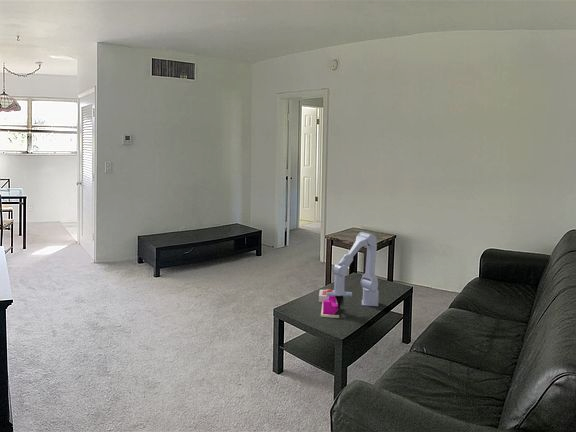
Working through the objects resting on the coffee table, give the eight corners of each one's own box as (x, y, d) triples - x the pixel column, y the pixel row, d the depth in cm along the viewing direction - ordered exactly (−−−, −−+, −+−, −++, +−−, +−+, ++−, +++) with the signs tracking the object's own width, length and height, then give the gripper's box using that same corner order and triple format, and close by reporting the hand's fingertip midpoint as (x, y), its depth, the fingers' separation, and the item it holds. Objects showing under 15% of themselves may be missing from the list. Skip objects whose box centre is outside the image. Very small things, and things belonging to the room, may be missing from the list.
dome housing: (338, 296, 293) (338, 290, 293) (338, 303, 282) (338, 296, 281) (319, 295, 295) (319, 289, 294) (318, 302, 283) (318, 295, 283)
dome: (334, 296, 291) (334, 287, 290) (334, 300, 284) (334, 291, 283) (323, 295, 292) (323, 287, 291) (322, 299, 285) (323, 290, 284)
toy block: (333, 315, 263) (334, 302, 261) (322, 314, 265) (323, 301, 263) (340, 306, 276) (340, 294, 275) (329, 305, 279) (330, 293, 277)
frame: (339, 305, 279) (339, 303, 279) (338, 317, 259) (339, 315, 259) (322, 304, 280) (322, 302, 280) (320, 316, 260) (320, 314, 260)
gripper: (350, 283, 271) (349, 305, 273) (325, 283, 270) (325, 305, 272) (353, 286, 264) (352, 309, 266) (327, 287, 263) (326, 310, 265)
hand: (338, 308), depth 269 cm, fingers closed, pressing on toy block
